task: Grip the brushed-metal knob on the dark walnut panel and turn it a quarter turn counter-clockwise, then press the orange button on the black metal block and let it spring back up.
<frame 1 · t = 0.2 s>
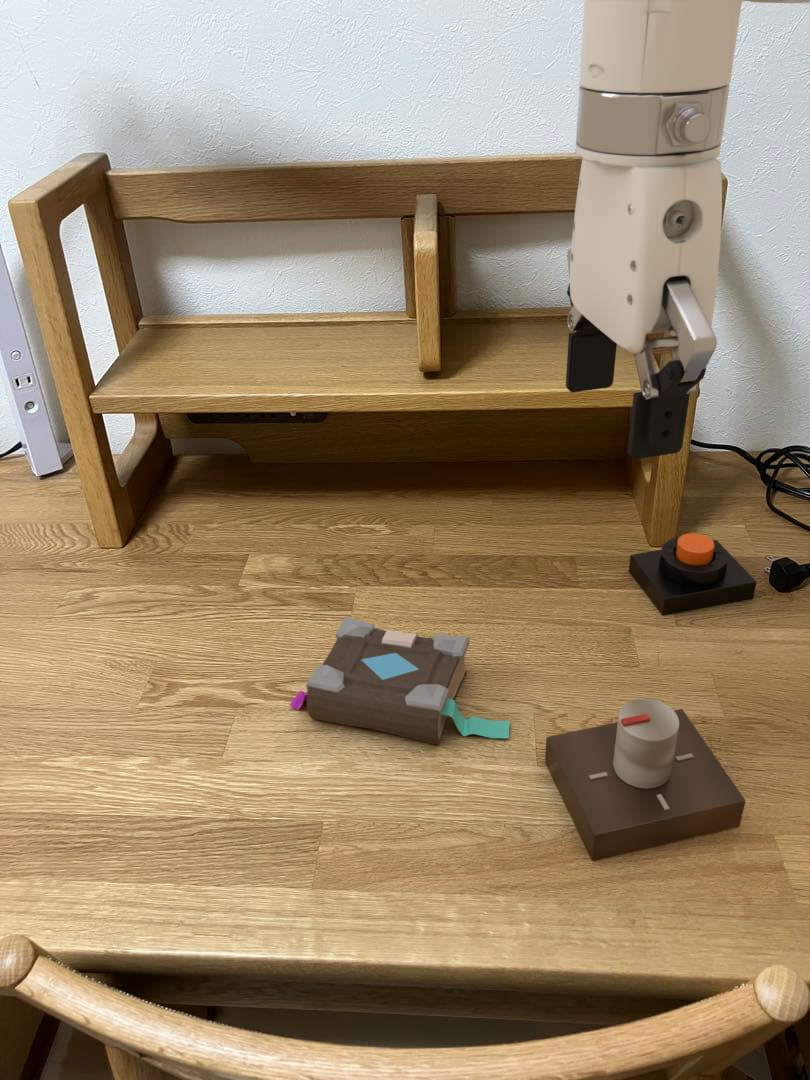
hand: (619, 418, 57), 32 cm above the table, tool pointing down, fingers open, 9 cm apart
button: (694, 549, 91), point 4 cm above the table, slide at 0.1 cm
button block: (689, 584, 94), on the table
panel: (637, 793, 71), on the table
book: (409, 695, 82), on the table
knob: (645, 741, 68), point 6 cm above the table, hinge at 0.0°
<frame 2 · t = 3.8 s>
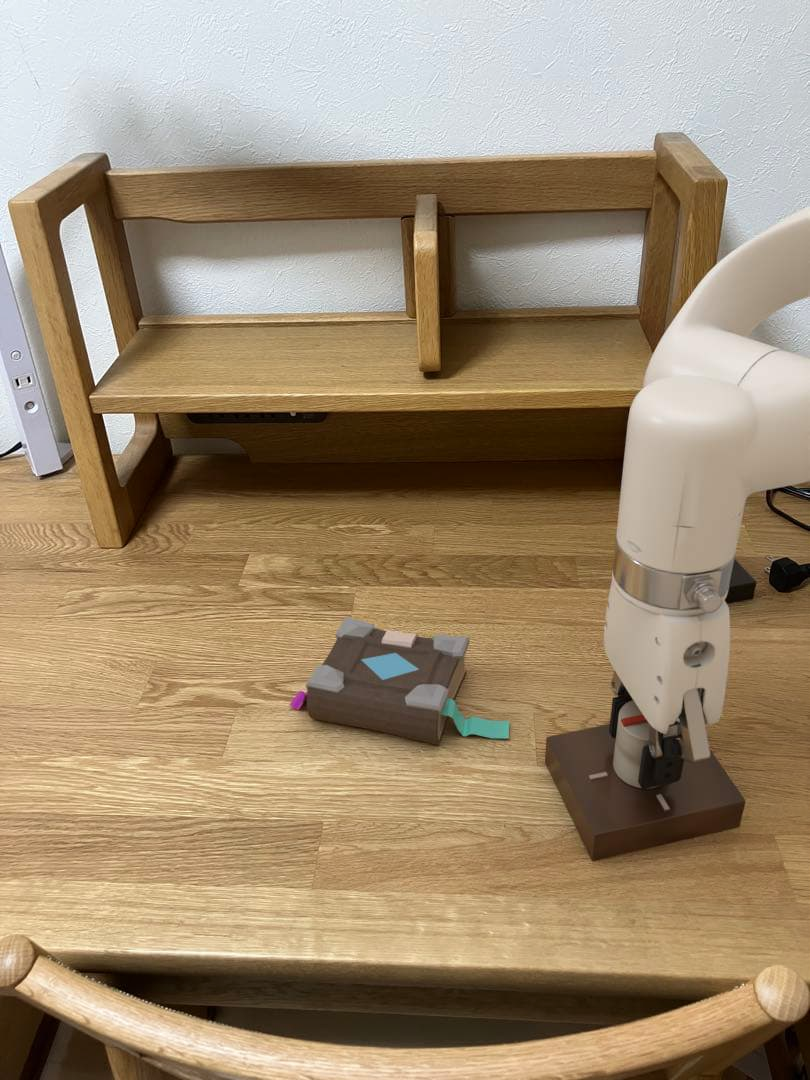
hand: (643, 755, 69), 4 cm above the table, tool pointing down, fingers closed on knob, 4 cm apart
knob: (645, 741, 68), point 6 cm above the table, hinge at 0.0°, touching gripper
everything else where it was.
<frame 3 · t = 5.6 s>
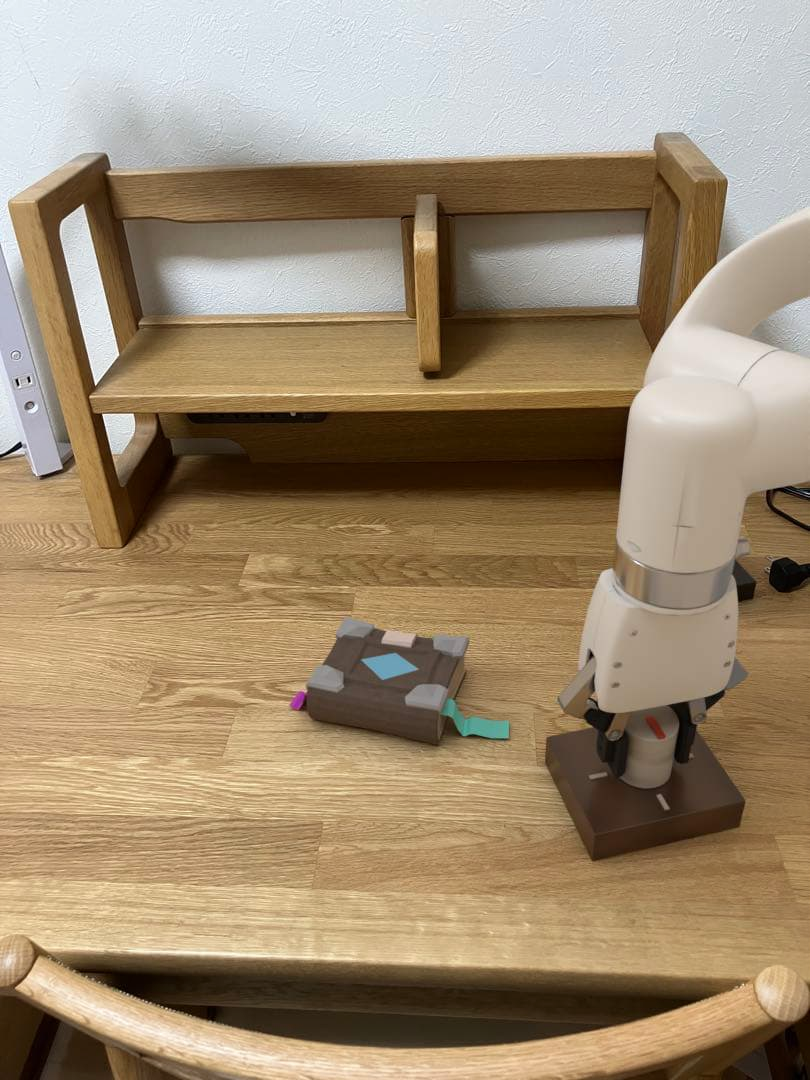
hand: (643, 755, 69), 4 cm above the table, tool pointing down, fingers closed on knob, 4 cm apart
knob: (645, 741, 68), point 6 cm above the table, hinge at 89.6°, touching gripper
everything else where it was.
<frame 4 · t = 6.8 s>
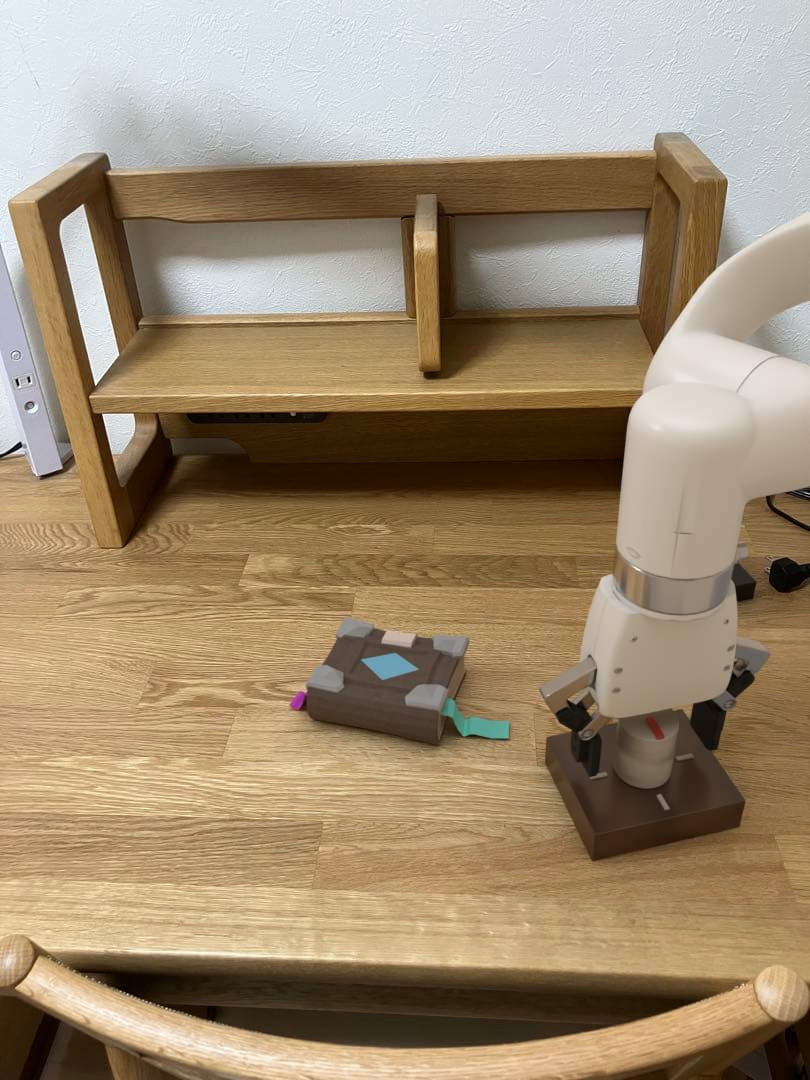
hand: (645, 750, 69), 5 cm above the table, tool pointing down, fingers open, 9 cm apart
knob: (645, 741, 68), point 6 cm above the table, hinge at 87.3°
everything else where it was.
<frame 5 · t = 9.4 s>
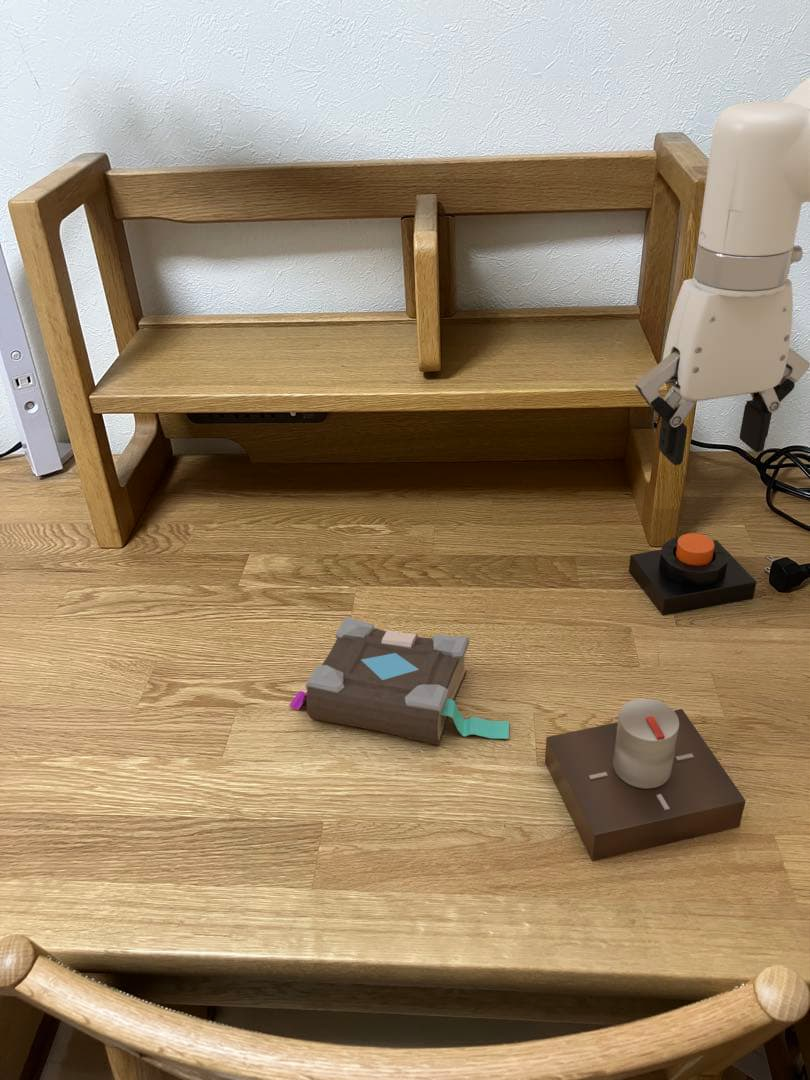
hand: (711, 450, 85), 16 cm above the table, tool pointing down, fingers open, 7 cm apart
nothing on the table moved.
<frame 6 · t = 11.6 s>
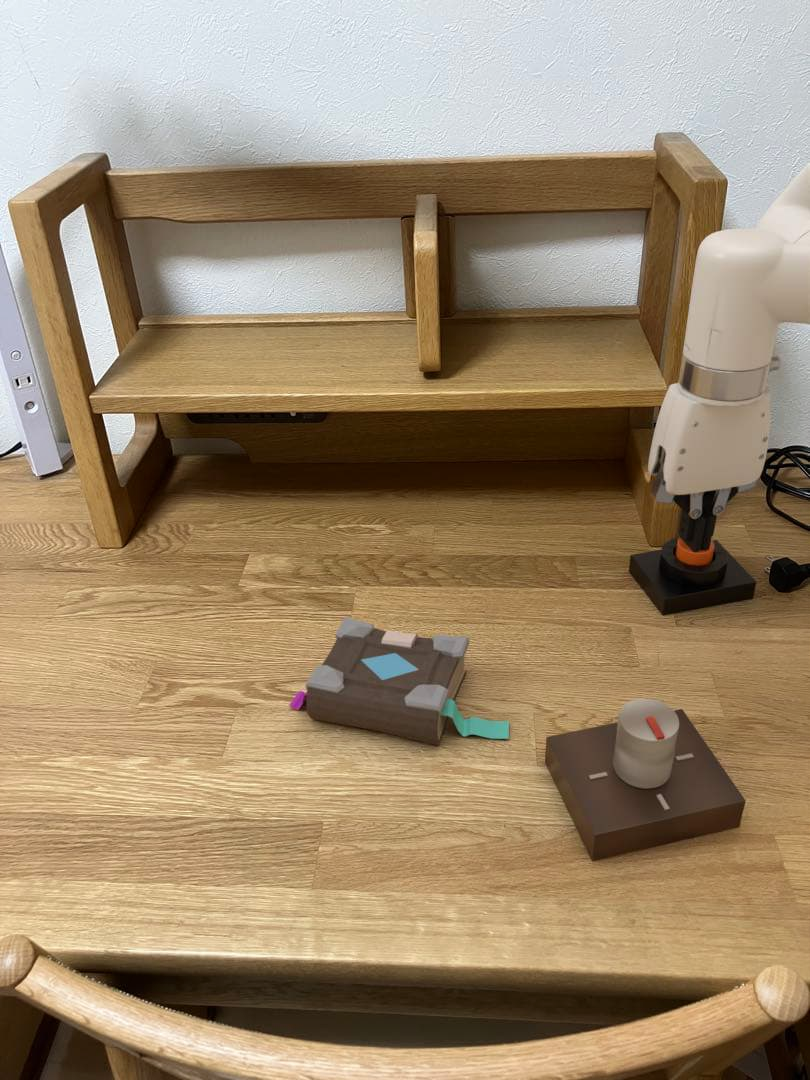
hand: (694, 543, 91), 5 cm above the table, tool pointing down, fingers closed
button: (694, 550, 91), point 4 cm above the table, slide at 0.0 cm, touching gripper
everything else where it was.
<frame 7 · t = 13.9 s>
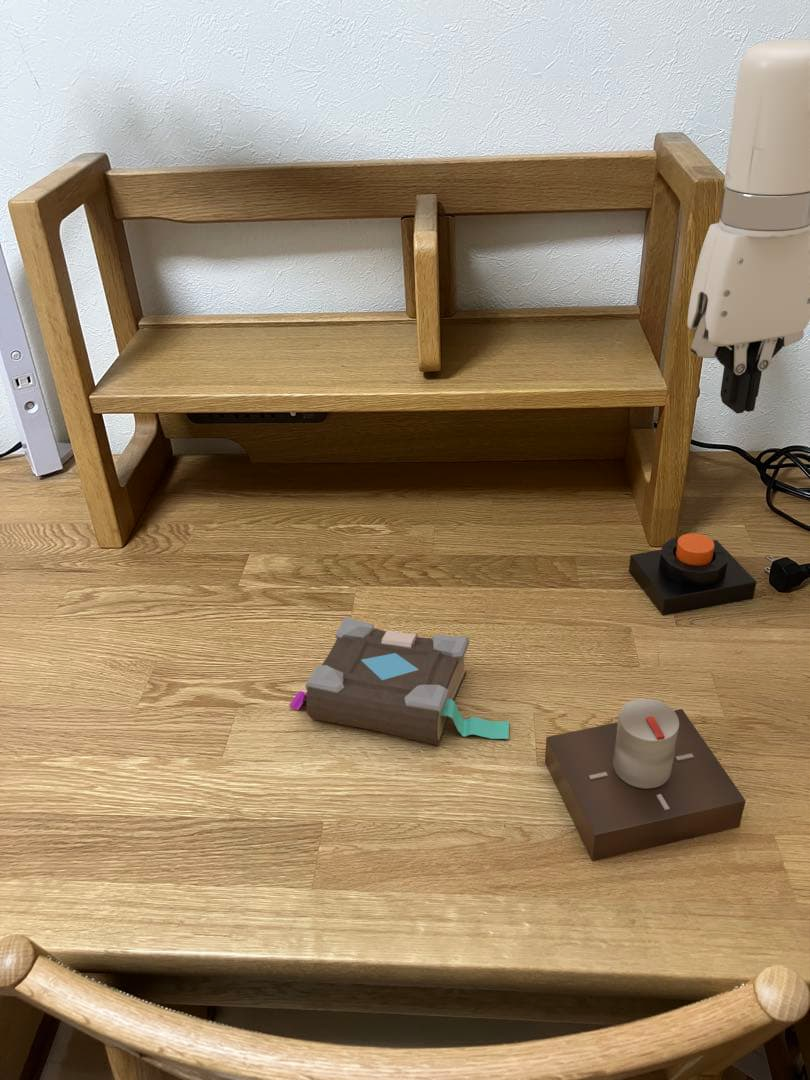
hand: (737, 406, 86), 19 cm above the table, tool pointing down, fingers closed
button: (694, 549, 91), point 4 cm above the table, slide at 0.1 cm
everything else where it was.
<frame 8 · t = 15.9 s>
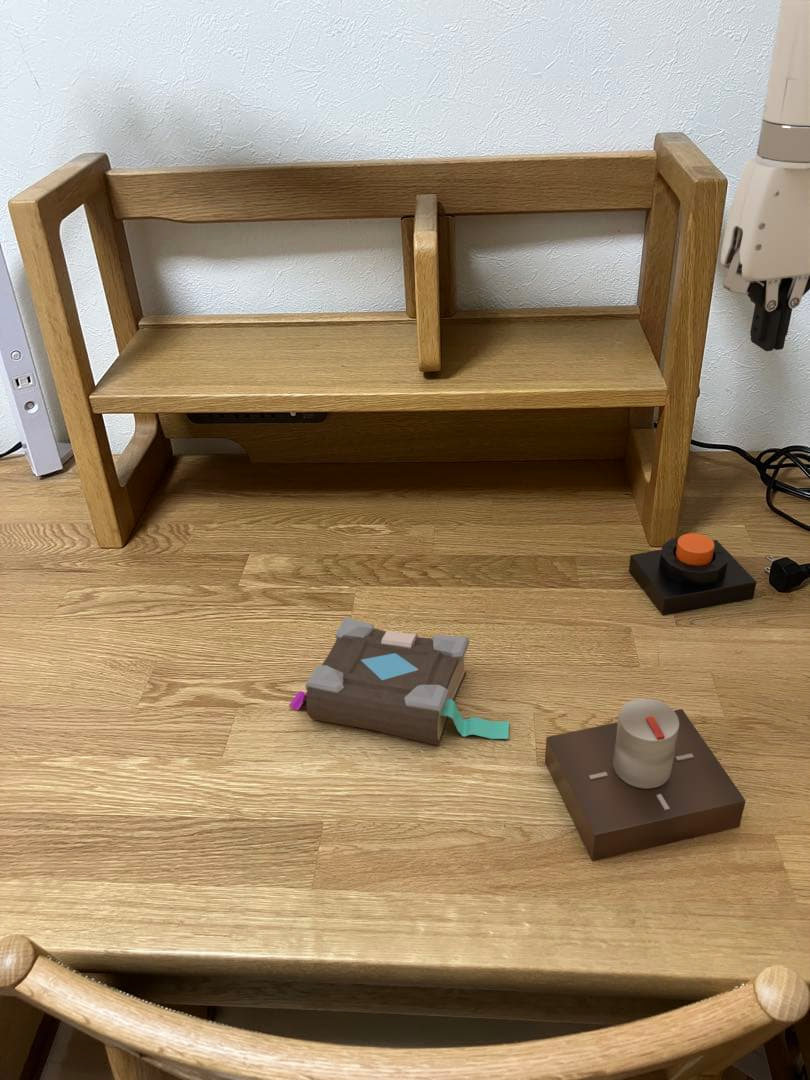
hand: (766, 345, 87), 23 cm above the table, tool pointing down, fingers closed
nothing on the table moved.
at the end: knob at +87° (first picture: +0°); button pushed in 1.1 cm at the most during the clip, back to where it started at the end; button slide at 0.1 cm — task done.
